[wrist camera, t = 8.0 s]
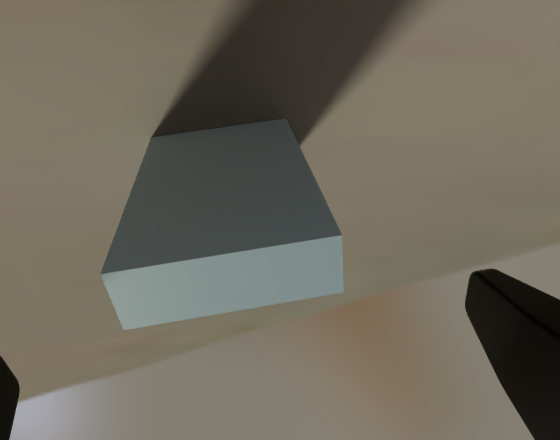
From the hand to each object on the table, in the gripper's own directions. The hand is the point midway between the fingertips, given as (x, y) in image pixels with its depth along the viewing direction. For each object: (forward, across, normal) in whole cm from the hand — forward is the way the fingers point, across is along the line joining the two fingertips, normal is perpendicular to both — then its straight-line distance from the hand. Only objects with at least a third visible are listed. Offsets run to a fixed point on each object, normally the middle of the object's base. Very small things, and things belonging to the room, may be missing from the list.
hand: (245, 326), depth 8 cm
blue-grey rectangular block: (+9, 0, 0) cm, 9 cm away
